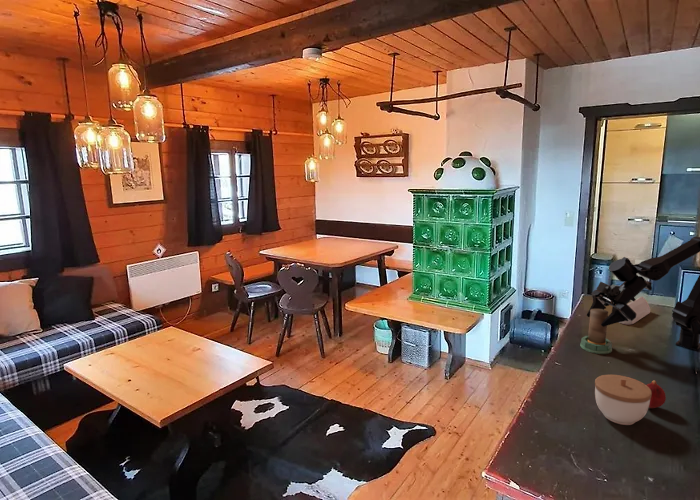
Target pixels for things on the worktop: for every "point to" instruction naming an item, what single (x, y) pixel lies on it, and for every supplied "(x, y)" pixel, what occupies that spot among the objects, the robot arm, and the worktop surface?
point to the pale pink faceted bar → (638, 309)
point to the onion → (656, 395)
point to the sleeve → (597, 327)
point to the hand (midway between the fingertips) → (594, 320)
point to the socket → (596, 346)
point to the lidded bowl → (622, 398)
